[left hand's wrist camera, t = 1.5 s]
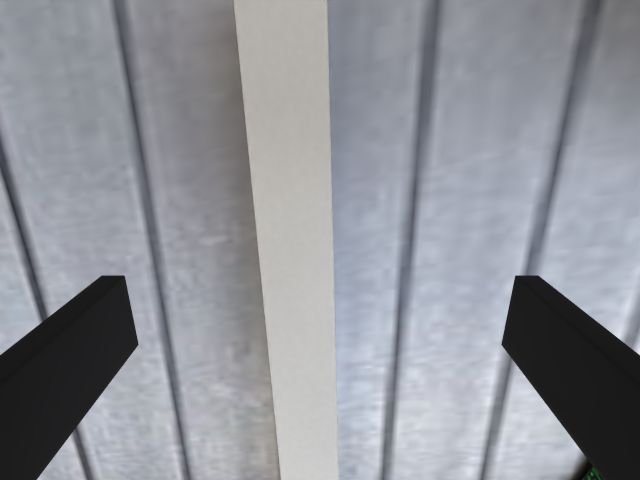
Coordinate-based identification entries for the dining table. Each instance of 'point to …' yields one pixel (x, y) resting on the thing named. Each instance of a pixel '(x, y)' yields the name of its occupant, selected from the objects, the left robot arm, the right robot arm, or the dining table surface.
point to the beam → (293, 221)
